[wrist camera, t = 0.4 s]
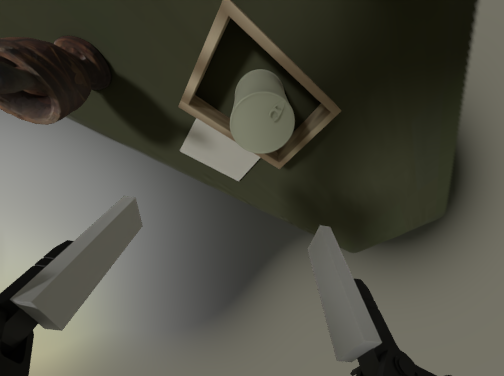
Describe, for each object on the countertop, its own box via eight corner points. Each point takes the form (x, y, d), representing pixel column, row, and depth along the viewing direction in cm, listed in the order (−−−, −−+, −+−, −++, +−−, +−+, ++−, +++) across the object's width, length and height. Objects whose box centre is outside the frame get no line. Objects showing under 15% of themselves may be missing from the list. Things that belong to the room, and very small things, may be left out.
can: (295, 92, 33) (310, 122, 24) (262, 130, 38) (266, 165, 29) (255, 55, 29) (256, 74, 20) (225, 103, 34) (216, 134, 25)
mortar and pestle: (63, -10, 24) (-218, -40, 9) (131, 48, 28) (8, 87, 14) (50, 63, 29) (-136, 113, 15) (108, 102, 34) (5, 169, 20)
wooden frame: (228, -3, 24) (224, -5, 21) (332, 100, 33) (341, 110, 30) (186, 96, 33) (178, 106, 29) (277, 155, 42) (279, 169, 39)
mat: (200, 110, 35) (199, 111, 34) (264, 151, 41) (264, 152, 41) (180, 149, 41) (179, 151, 41) (238, 179, 48) (238, 181, 47)
